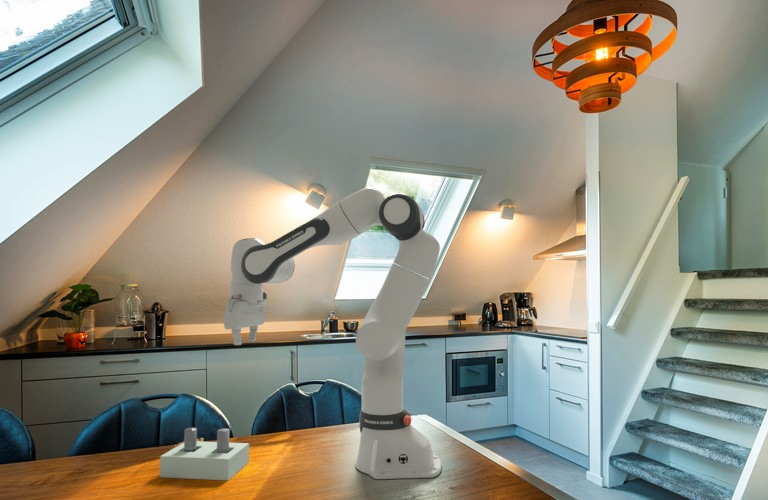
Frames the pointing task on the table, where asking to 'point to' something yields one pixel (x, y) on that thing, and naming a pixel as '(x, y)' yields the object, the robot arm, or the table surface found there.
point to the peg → (190, 439)
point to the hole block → (206, 459)
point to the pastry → (183, 442)
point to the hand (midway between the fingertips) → (244, 343)
